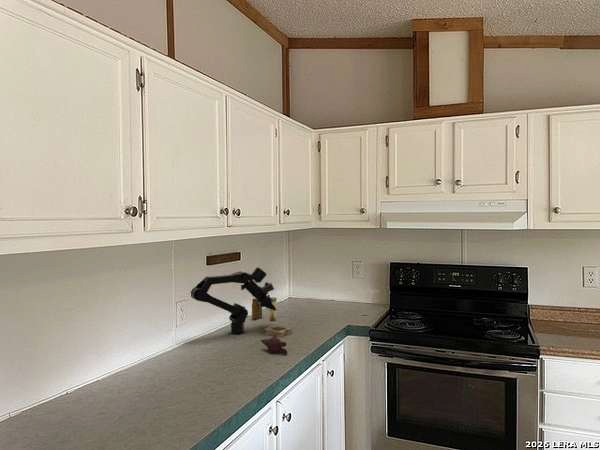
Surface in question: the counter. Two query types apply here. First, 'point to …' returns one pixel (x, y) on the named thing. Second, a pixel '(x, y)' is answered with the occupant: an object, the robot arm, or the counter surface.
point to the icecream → (275, 345)
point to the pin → (273, 311)
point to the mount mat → (267, 327)
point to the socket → (278, 331)
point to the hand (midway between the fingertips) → (275, 309)
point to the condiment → (256, 310)
